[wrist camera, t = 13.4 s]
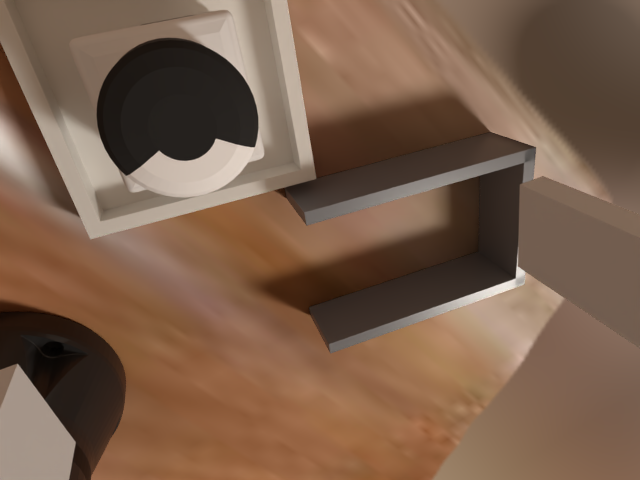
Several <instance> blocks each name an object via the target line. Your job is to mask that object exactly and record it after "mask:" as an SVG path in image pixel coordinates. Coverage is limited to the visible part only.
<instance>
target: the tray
mask: <svg viewBox="0 0 640 480" xmlns="http://www.w3.org/2000/svg"><path fill="white" fill-rule="evenodd" d="M218 10H228V11H229V12H230V13H231V14H232V16H233V19H234V23H235V27H236V31H237V36H238V40H239V44H240V49H241V53H242V57H243V61H244V66H245V70H246V74H247V79H248V83H249V87H250V90H251V92H252V94H253V96H254V99H255V103H256V106H257V112H258V123H259V130H260V134H261V138H262V143H263V147H264V156H263V158H261V159H260V160H256V161H252V162H248V163H247V165H246V166H245V167H244V169H243V170H242V171H241V172H240V173H239V174H238V175H237V176H236V177H235V178H234V179H233V180H232V181H231V182H229V183H228V184H226V185H225V186H223V187H221V188H220V189H218V190H216V191H213V192H211V193H208V194H204V195H200V196H195V197H172V196H165V195H162V194H158V193H155V192H152V191H150V190H143V191H139V192H130V191H128V190H127V188H126V187H125V184H124V182H123V179H122V177H121V175H120V172H119V170H118V167H117V166H116V165H115V164H114V162H113V161H112V160H111V158H110V157H109V155H108V153H107V152H106V150H105V148H104V145H103V143H102V141H101V138H100V134H99V130H98V126H97V116H96V113H95V111H94V108H93V106H92V103H91V101H90V98H89V96H88V93H87V91H86V89H85V86H84V84H83V81H82V79H81V76H80V74H79V71H78V69H77V66H76V64H75V62H74V59H73V57H72V54H71V52H70V49H69V43H70V41H71V40H72V39H74V38H78V37H82V36H86V35H90V34H95V33H100V32H105V31H110V30H116V29H121V28H126V27H131V26H136V25H142V24H147V23H152V22H157V21H163V20H168V19H173V18H178V17H183V16H189V15H194V14H199V13H204V12H210V11H218ZM0 43H1V45H2V47H3V49H4V51H5V54H6V56H7V58H8V60H9V62H10V65H11V67H12V69H13V71H14V73H15V75H16V78H17V80H18V82H19V84H20V86H21V89H22V91H23V93H24V95H25V97H26V99H27V102H28V104H29V106H30V108H31V110H32V113H33V115H34V117H35V119H36V121H37V124H38V126H39V128H40V130H41V132H42V134H43V137H44V139H45V141H46V143H47V145H48V148H49V150H50V152H51V154H52V156H53V158H54V161H55V163H56V165H57V167H58V169H59V172H60V174H61V176H62V178H63V180H64V182H65V185H66V187H67V189H68V191H69V193H70V196H71V198H72V200H73V202H74V204H75V207H76V209H77V211H78V213H79V215H80V217H81V220H82V222H83V224H84V226H85V228H86V231H87V233H88V235H89V237H90V239H93V238H97V237H100V236H104V235H108V234H112V233H115V232H119V231H123V230H127V229H130V228H134V227H138V226H142V225H145V224H149V223H153V222H157V221H160V220H164V219H168V218H172V217H175V216H179V215H183V214H187V213H190V212H194V211H198V210H202V209H205V208H209V207H213V206H217V205H220V204H224V203H228V202H232V201H235V200H239V199H243V198H247V197H250V196H254V195H258V194H262V193H265V192H269V191H273V190H277V189H280V188H284V187H288V186H292V185H295V184H299V183H303V182H307V181H310V180H314V179H316V173H315V167H314V161H313V155H312V149H311V143H310V137H309V131H308V125H307V119H306V113H305V107H304V101H303V95H302V89H301V83H300V77H299V70H298V64H297V58H296V52H295V46H294V40H293V34H292V28H291V22H290V16H289V10H288V4H287V0H0Z"/></svg>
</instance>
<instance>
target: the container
mask: <svg viewBox="0 0 640 480" xmlns="http://www.w3.org/2000/svg"><path fill="white" fill-rule="evenodd" d="M69 49H70V52H71V54H72V57H73V59H74V62H75V64H76V66H77V69H78V71H79V74H80V76H81V79H82V81H83V84H84V86H85V89H86V91H87V93H88V96H89V98H90V101H91V103H92V106H93V108H94V111H95V113H96V116H97V126H98V130H99V134H100V138H101V141H102V143H103V145H104V148H105V150H106V152H107V153H108V155H109V157H110V158H111V160H112V161H113V162H114V164H115V165H116V166H117V167H118V170H119V172H120V175H121V177H122V179H123V182H124V184H125V187H126V188H127V190H128V191H130V192H139V191H143V190H150V191H152V192H155V193H158V194H162V195H165V196H172V197H195V196H200V195H204V194H208V193H211V192H213V191H216V190H218V189H220V188H221V187H223V186H225V185H226V184H228V183H229V182H231V181H232V180H233V179H234V178H235V177H236V176H237V175H238V174H239V173H240V172H241V171H242V170H243V169H244V167H245V166H246V165H247V163H248V162H252V161H256V160H260V159H261V158H263V156H264V147H263V143H262V138H261V134H260V130H259V123H258V112H257V106H256V103H255V99H254V96H253V94H252V92H251V90H250V87H249V83H248V79H247V74H246V70H245V66H244V61H243V57H242V53H241V49H240V44H239V40H238V36H237V31H236V27H235V23H234V19H233V16H232V14H231V13H230V12H229V11H228V10H218V11H210V12H204V13H199V14H194V15H189V16H183V17H178V18H173V19H168V20H163V21H157V22H152V23H147V24H142V25H136V26H131V27H126V28H121V29H116V30H110V31H105V32H100V33H95V34H90V35H86V36H82V37H78V38H74V39H72V40H71V41H70V43H69Z"/></svg>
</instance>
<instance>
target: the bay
mask: <svg viewBox="0 0 640 480" xmlns="http://www.w3.org/2000/svg"><path fill="white" fill-rule="evenodd" d="M535 154H536V147H534V146H531V145H528V144H525V143H522V142H519V141H516V140H513V139H510V138H507V137H504V136H501V135H498V134H495V133H492V132H489V133H485V134H482V135H478V136H474V137H470V138H467V139H463V140H459V141H455V142H452V143H448V144H444V145H440V146H437V147H433V148H429V149H425V150H422V151H418V152H414V153H410V154H407V155H403V156H399V157H395V158H392V159H388V160H384V161H380V162H377V163H373V164H369V165H365V166H362V167H358V168H354V169H350V170H347V171H343V172H339V173H335V174H332V175H328V176H324V177H320V178H316V179H314V180H310V181H307V182H303V183H299V184H295V185H292V186H288V187H285V192H286V197H287V199H288V201H289V202H290V204H291V205H292V206H293V208H294V209H295V210H296V212H297V213H298V214H299V216H300V217H301V218H302V220H303V221H304V223H305V224H306V225H310V224H313V223H317V222H320V221H324V220H327V219H331V218H334V217H338V216H341V215H345V214H348V213H352V212H355V211H358V210H362V209H365V208H369V207H372V206H376V205H379V204H383V203H386V202H390V201H393V200H397V199H400V198H404V197H407V196H411V195H414V194H417V193H421V192H424V191H428V190H431V189H435V188H438V187H442V186H445V185H449V184H452V183H456V182H459V181H463V180H466V179H470V178H473V177H476V176H480V194H479V236H478V252H475V253H472V254H469V255H466V256H463V257H460V258H457V259H454V260H451V261H448V262H445V263H442V264H439V265H436V266H433V267H430V268H427V269H424V270H421V271H418V272H415V273H412V274H409V275H406V276H402V277H399V278H396V279H393V280H390V281H387V282H384V283H381V284H378V285H375V286H372V287H369V288H366V289H363V290H360V291H357V292H354V293H351V294H348V295H345V296H342V297H339V298H336V299H333V300H330V301H326V302H323V303H320V304H317V305H314V306H311V307H309V310H310V315H311V317H312V319H313V321H314V323H315V325H316V327H317V329H318V331H319V332H320V334H321V336H322V338H323V340H324V342H325V344H326V346H327V348H328V350H329V351H330V353H333V352H336V351H338V350H341V349H344V348H347V347H350V346H353V345H355V344H358V343H361V342H364V341H367V340H369V339H372V338H375V337H378V336H381V335H383V334H386V333H389V332H392V331H395V330H398V329H400V328H403V327H406V326H409V325H412V324H414V323H417V322H420V321H423V320H426V319H428V318H431V317H434V316H437V315H440V314H443V313H445V312H448V311H451V310H454V309H457V308H459V307H462V306H465V305H468V304H471V303H473V302H476V301H479V300H482V299H485V298H488V297H490V296H493V295H496V294H499V293H502V292H504V291H507V290H510V289H513V288H516V287H518V286H521V285H524V283H525V271H524V270H522V269H521V268H519V267H518V239H519V198H520V184H522V183H525V182H528V181H531V180H533V177H534V166H535Z"/></svg>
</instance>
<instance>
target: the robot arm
mask: <svg viewBox="0 0 640 480" xmlns="http://www.w3.org/2000/svg"><path fill="white" fill-rule="evenodd" d="M518 267H519V268H521V269H522V270H524V271H525V272H527V273H528V274H530V275H531V276H533V277H534V278H536V279H537V280H539V281H540V282H542V283H543V284H545V285H546V286H548V287H549V288H551V289H552V290H554V291H555V292H557V293H558V294H560V295H561V296H563V297H564V298H566V299H567V300H569V301H570V302H572V303H573V304H575V305H576V306H577V307H579V308H580V309H582V310H583V311H585V312H586V313H588V314H590V315H591V316H592V317H594V318H595V319H597V320H599V321H600V322H602V323H603V324H604V325H606V326H607V327H609V328H610V329H612V330H613V331H615V332H616V333H618V334H619V335H621V336H622V337H624V338H625V339H627V340H628V341H630V342H631V343H633V344H634V345H636V346H637V347H639V348H640V215H639V214H637V213H634V212H632V211H629V210H627V209H624V208H622V207H619V206H617V205H614V204H612V203H609V202H607V201H604V200H602V199H599V198H596V197H594V196H591V195H589V194H586V193H584V192H581V191H579V190H576V189H574V188H571V187H569V186H566V185H564V184H561V183H559V182H556V181H554V180H551V179H549V178H546V177H544V176H542V177H539V178H537V179H534V180H531V181H528V182H525V183H522V184H520V198H519V239H518ZM125 391H126V378H125V372H124V368H123V365H122V363H121V361H120V359H119V357H118V355H117V354H116V353H115V351H114V350H113V349H112V347H111V346H110V345H109V344H108V343H107V342H106V341H105V340H104V339H102V338H101V337H100V336H98V335H97V334H96V333H94V332H93V331H91V330H89V329H88V328H86V327H84V326H82V325H80V324H77V323H75V322H72V321H70V320H67V319H64V318H60V317H56V316H52V315H47V314H41V313H31V312H5V313H0V480H91V475H92V473H93V471H94V470H95V468H96V466H97V464H98V462H99V460H100V458H101V456H102V454H103V452H104V450H105V448H106V446H107V444H108V442H109V440H110V438H111V437H112V435H113V434H114V432H115V431H116V429H117V427H118V425H119V423H120V420H121V417H122V414H123V410H124V403H125Z"/></svg>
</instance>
